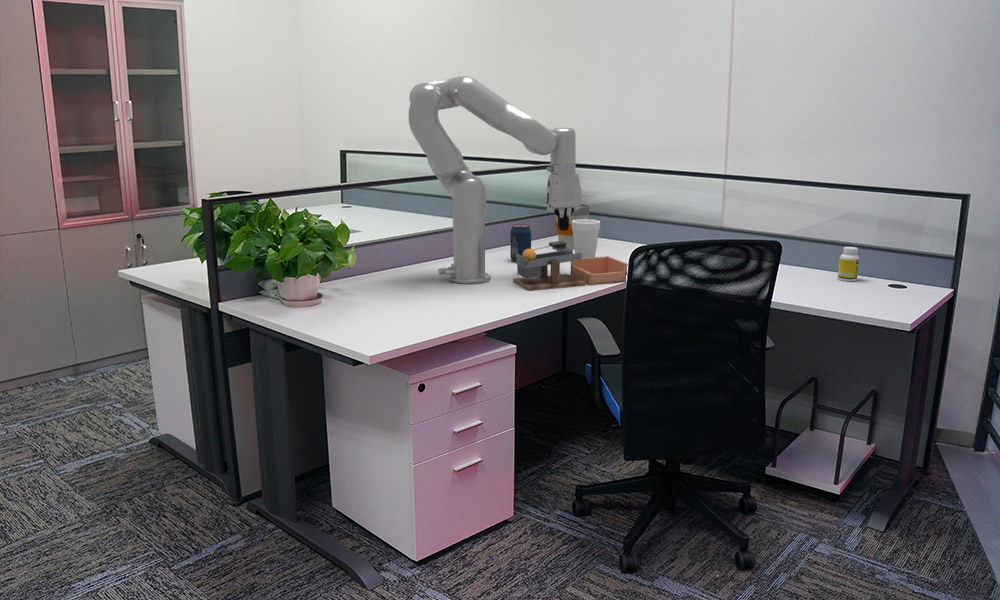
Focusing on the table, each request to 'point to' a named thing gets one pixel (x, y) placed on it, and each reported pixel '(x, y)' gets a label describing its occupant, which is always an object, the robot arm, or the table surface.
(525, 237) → the soda can
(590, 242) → the foam cup
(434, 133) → the robot arm
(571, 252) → the lever
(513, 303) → the table surface
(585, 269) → the bin
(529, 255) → the ball
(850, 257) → the supplement bottle
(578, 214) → the reusable coffee cup
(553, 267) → the lever stand
